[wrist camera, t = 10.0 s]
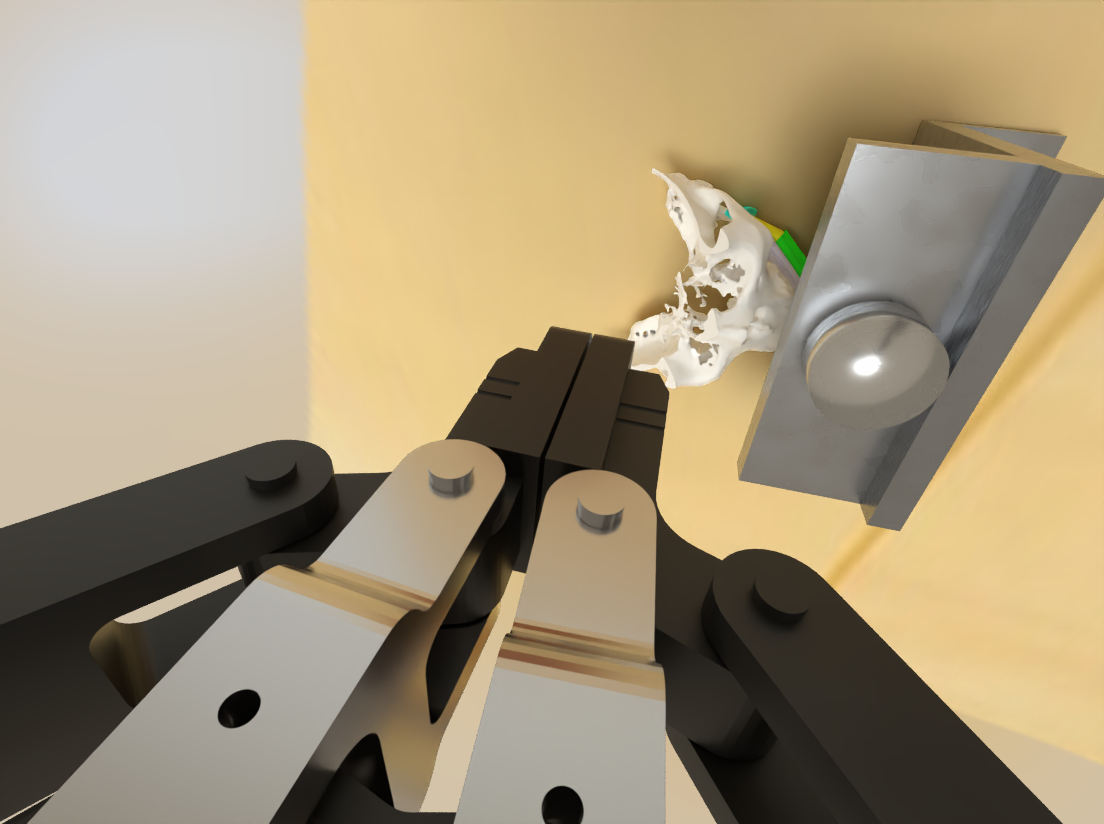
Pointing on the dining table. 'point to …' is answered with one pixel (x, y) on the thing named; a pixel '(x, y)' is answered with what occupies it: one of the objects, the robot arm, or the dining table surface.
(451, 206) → the dining table surface
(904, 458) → the bracket
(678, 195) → the white irregular lump
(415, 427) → the dining table surface
